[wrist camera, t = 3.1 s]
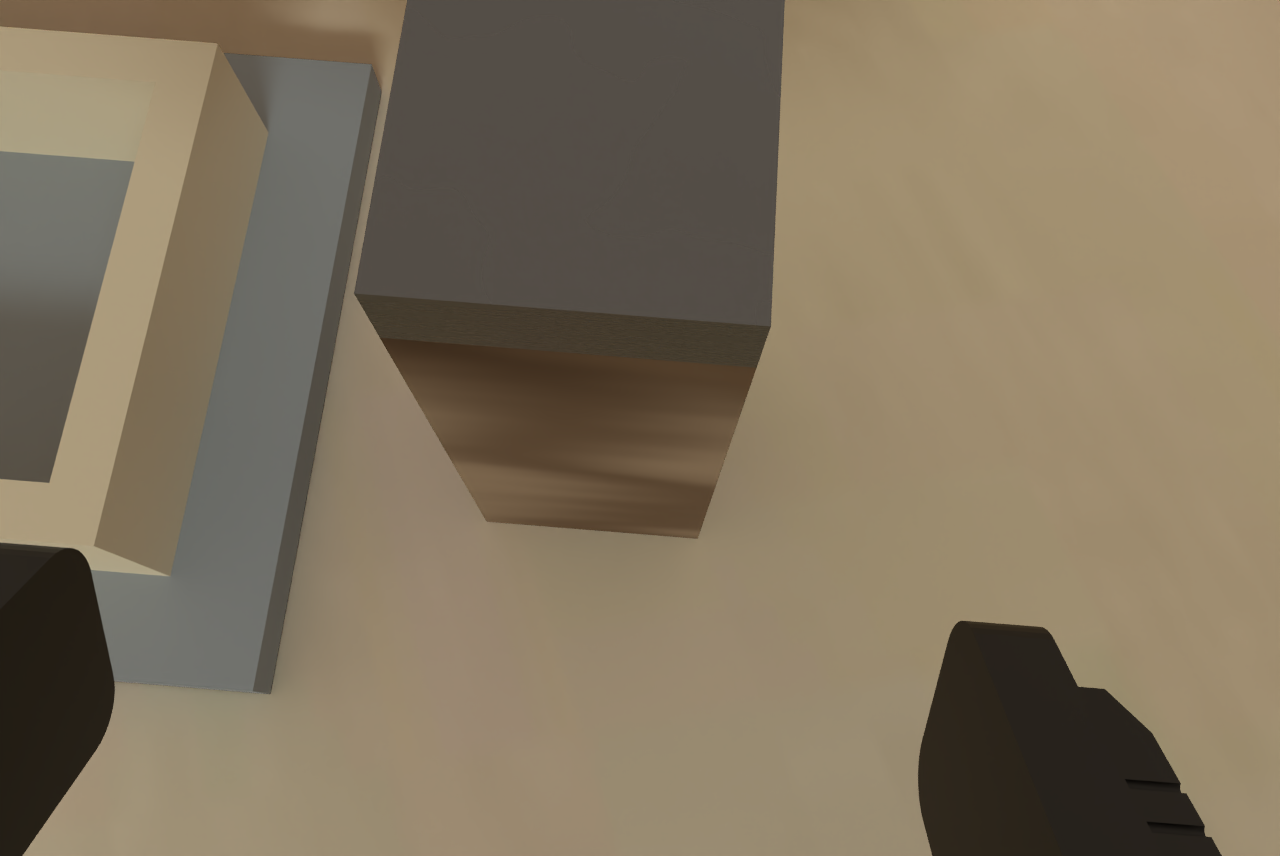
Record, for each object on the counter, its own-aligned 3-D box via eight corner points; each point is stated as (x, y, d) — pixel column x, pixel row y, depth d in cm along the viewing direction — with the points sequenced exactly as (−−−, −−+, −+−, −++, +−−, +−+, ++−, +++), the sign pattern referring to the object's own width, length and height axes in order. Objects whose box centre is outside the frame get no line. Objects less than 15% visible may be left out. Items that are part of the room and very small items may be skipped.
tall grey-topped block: (709, 342, 23) (785, -16, 12) (697, 538, 21) (771, 326, 11) (511, 327, 23) (414, -44, 12) (486, 521, 21) (354, 293, 11)
